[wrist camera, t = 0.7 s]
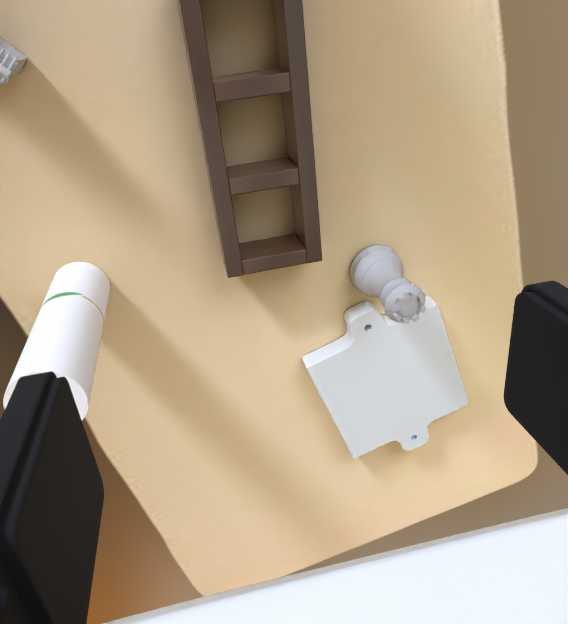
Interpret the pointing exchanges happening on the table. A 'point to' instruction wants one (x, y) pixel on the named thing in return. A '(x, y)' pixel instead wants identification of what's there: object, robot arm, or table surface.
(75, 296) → the tube
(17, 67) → the white ornate piece
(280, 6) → the piece stand
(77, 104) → the table surface
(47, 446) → the robot arm
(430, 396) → the mounting plate
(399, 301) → the rook chess piece
